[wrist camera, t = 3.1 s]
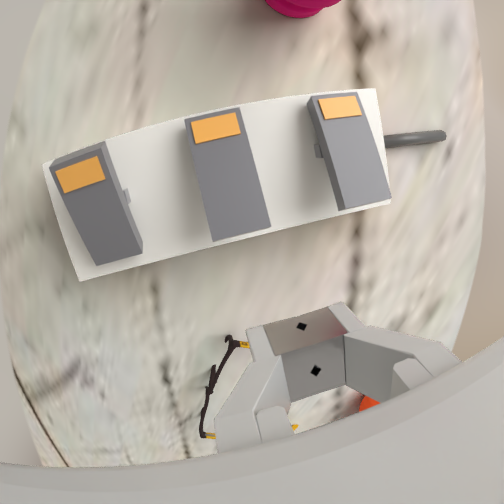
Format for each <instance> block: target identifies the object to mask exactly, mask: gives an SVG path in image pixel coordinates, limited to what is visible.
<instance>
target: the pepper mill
mask: <svg viewBox="0 0 504 504" xmlns="http://www.w3.org/2000/svg"><path fill="white" fill-rule="evenodd" d="M265 1H266V2H267V3H268V5H269V6H270V7H272V8H273V9H274V10H276V11H277V12H279V13H281V14H283V15H286V16H290V17H295V18H305V17H310V16H313V15H315V14H317V13H318V12H319V11H320V10H322V9H323V8H325V7H329V6H332V5H334V4H336V3H338V2H339V1H341V0H265Z"/></svg>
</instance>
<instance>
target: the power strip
mask: <svg viewBox="0 0 504 504" xmlns="http://www.w3.org/2000/svg"><path fill="white" fill-rule="evenodd" d="M347 92H357V93H358V95H359V98H360V101H361V103H362V106H363V109H364V111H365V114H366V117H367V120H368V122H369V125H370V128H371V131H372V134H373V137H374V140H375V143H376V146H377V149H378V152H379V155H380V158H381V162H382V165H383V168H384V172H385V175H386V179H387V182H388V186H389V178H388V169H387V160H386V152H385V148H390V147H398V146H405V145H413V144H421V143H430V142H439V141H444V140H445V139H446V133H445V132H444V131H442V130H437V131H425V132H415V133H405V134H396V135H387V136H383V131H382V124H381V118H380V112H379V106H378V101H377V96H376V90H375V88H372V89H355V90H342V91H330V92H320V93H311V94H303V95H295V96H288V97H281V98H274V99H268V100H261V101H256V102H250V103H244V104H239V105H234V106H229V107H224V108H219V109H214V110H210V111H205V112H201V113H197V114H192V115H188V116H184V117H180V118H176V119H172V120H169V121H165V122H161V123H158V124H154V125H151V126H147V127H144V128H140V129H137V130H134V131H130V132H127V133H124V134H121V135H118V136H115V137H112V138H109V139H106V140H103V141H105V142H106V145H107V148H108V151H109V154H110V157H111V160H112V163H113V165H114V168H115V171H116V174H117V177H118V179H119V182H120V185H121V187H122V190H123V193H124V195H125V198H126V201H127V203H128V206H129V208H130V211H131V214H132V216H133V219H134V221H135V224H136V226H137V229H138V231H139V233H140V236H141V238H142V241H143V254H139V255H136V256H132V257H128V258H125V259H121V260H117V261H114V262H110V263H106V264H103V265H99V266H96V264H95V263H94V261H93V259H92V257H91V255H90V253H89V252H88V250H87V248H86V246H85V244H84V242H83V240H82V238H81V236H80V234H79V232H78V230H77V228H76V226H75V224H74V222H73V220H72V218H71V216H70V214H69V212H68V210H67V208H66V206H65V204H64V202H63V199H62V197H61V195H60V193H59V191H58V188H57V186H56V184H55V182H54V179H53V177H52V175H51V172H50V170H49V167H50V165H51V164H52V162H53V161H54V160H55V159H57V158H59V157H57V158H55V159H52V160H50V161H47V162H45V163H43V164H42V168H43V172H44V176H45V179H46V183H47V187H48V191H49V194H50V198H51V201H52V204H53V208H54V211H55V214H56V218H57V221H58V224H59V227H60V230H61V233H62V236H63V239H64V242H65V244H66V247H67V250H68V253H69V256H70V258H71V261H72V264H73V266H74V269H75V271H76V274H77V276H78V279H79V281H80V282H81V281H85V280H89V279H92V278H96V277H100V276H103V275H107V274H111V273H115V272H118V271H122V270H126V269H130V268H133V267H137V266H141V265H145V264H149V263H152V262H156V261H160V260H164V259H168V258H172V257H176V256H179V255H183V254H187V253H191V252H195V251H199V250H203V249H207V248H210V247H214V246H218V245H222V244H226V243H230V242H234V241H238V240H242V239H246V238H250V237H254V236H258V235H262V234H266V233H270V232H274V231H278V230H282V229H286V228H290V227H294V226H298V225H302V224H307V223H311V222H315V221H319V220H323V219H327V218H331V217H335V216H339V215H344V214H348V213H352V212H356V211H360V210H365V209H369V208H373V207H377V206H381V205H386V204H390V203H391V199H387V200H384V201H381V202H376V203H372V204H368V205H363V206H359V207H355V208H350V209H346V210H342V211H338V207H337V204H336V200H335V196H334V193H333V189H332V185H331V182H330V178H329V175H328V171H327V168H326V164H325V161H324V158H323V154H322V151H321V148H320V145H319V141H318V138H317V135H316V132H315V129H314V126H313V123H312V120H311V117H310V114H309V111H308V108H307V105H306V104H307V102H308V100H309V99H310V97H311V96H316V95H325V94H335V93H347ZM237 107H240V111H241V114H242V118H243V122H244V125H245V129H246V132H247V136H248V140H249V143H250V147H251V151H252V154H253V158H254V162H255V166H256V169H257V173H258V177H259V181H260V184H261V188H262V192H263V196H264V200H265V203H266V207H267V211H268V215H269V219H270V223H271V227H270V228H267V229H263V230H259V231H255V232H251V233H247V234H243V235H239V236H235V237H231V238H227V239H223V240H219V241H215V242H213V241H212V237H211V233H210V229H209V225H208V221H207V217H206V213H205V209H204V204H203V200H202V196H201V192H200V188H199V183H198V179H197V175H196V170H195V166H194V162H193V157H192V153H191V149H190V144H189V140H188V135H187V131H186V126H185V121H184V119H187V118H191V117H196V116H200V115H204V114H209V113H213V112H218V111H223V110H227V109H232V108H237ZM100 142H102V141H100ZM97 143H99V142H97ZM94 144H96V143H94ZM94 144H91V145H94ZM91 145H89V146H91ZM86 147H88V146H86ZM83 148H85V147H83ZM83 148H80V149H83ZM80 149H78V150H80ZM75 151H77V150H75ZM75 151H72V152H75ZM72 152H70V153H72ZM67 154H69V153H67ZM67 154H65V155H67ZM62 156H64V155H62ZM62 156H60V157H62ZM389 189H390V188H389Z"/></svg>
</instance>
